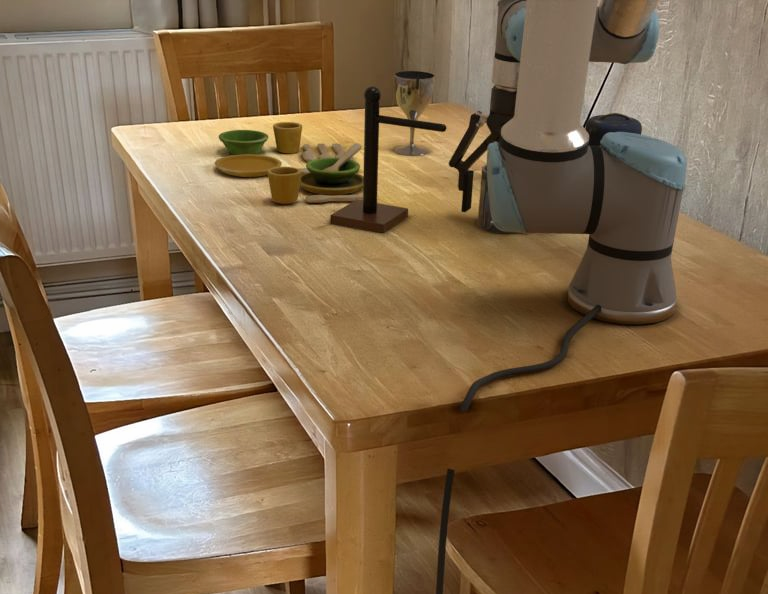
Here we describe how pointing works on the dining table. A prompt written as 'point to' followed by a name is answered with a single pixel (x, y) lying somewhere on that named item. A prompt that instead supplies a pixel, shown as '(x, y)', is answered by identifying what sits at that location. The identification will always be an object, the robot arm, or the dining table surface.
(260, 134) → the tableware set
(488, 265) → the dining table surface
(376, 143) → the cup holder
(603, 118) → the canister
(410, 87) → the wine glass
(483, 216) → the mug
